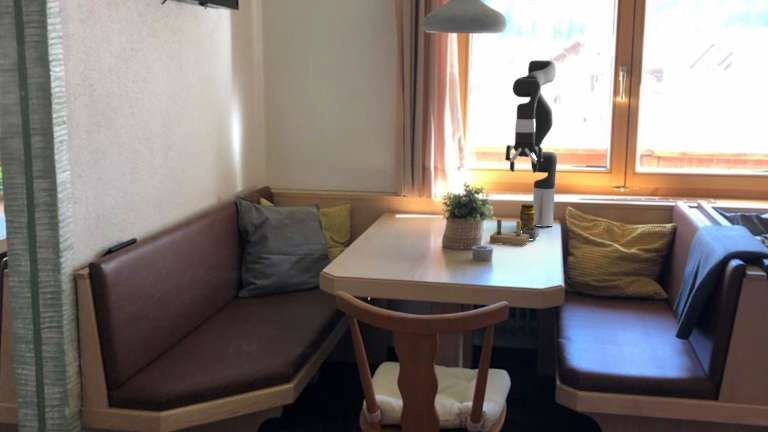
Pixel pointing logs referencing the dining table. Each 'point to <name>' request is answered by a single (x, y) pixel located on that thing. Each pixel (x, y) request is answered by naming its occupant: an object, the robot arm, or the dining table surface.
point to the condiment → (527, 216)
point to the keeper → (509, 235)
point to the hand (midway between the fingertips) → (523, 172)
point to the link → (531, 232)
